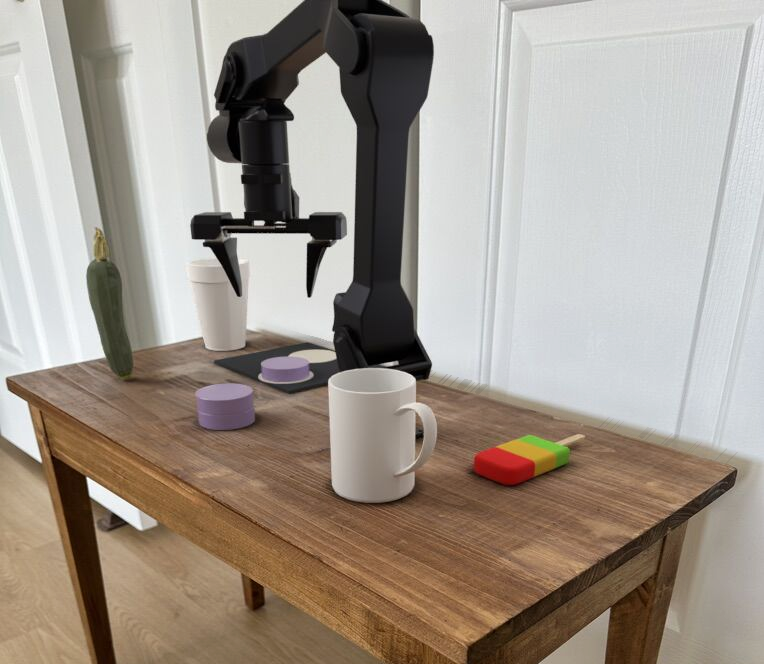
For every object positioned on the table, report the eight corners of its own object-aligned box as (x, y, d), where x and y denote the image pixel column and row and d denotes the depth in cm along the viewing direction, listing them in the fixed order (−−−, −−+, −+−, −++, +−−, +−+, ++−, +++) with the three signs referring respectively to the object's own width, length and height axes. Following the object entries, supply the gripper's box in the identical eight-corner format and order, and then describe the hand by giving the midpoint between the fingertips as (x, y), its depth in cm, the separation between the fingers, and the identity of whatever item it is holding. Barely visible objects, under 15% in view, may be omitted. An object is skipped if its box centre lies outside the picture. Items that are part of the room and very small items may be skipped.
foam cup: (236, 336, 128) (229, 255, 122) (266, 346, 122) (260, 262, 116) (185, 345, 123) (175, 261, 117) (213, 356, 116) (204, 268, 110)
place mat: (388, 370, 109) (388, 366, 109) (287, 394, 99) (287, 390, 99) (307, 344, 123) (307, 341, 122) (212, 363, 113) (211, 360, 112)
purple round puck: (319, 376, 105) (318, 363, 104) (278, 385, 101) (277, 372, 100) (292, 366, 109) (291, 353, 108) (252, 374, 105) (251, 362, 105)
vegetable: (130, 386, 102) (105, 229, 94) (99, 386, 103) (71, 229, 94) (140, 377, 106) (117, 225, 98) (110, 377, 107) (84, 225, 98)
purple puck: (264, 407, 89) (263, 392, 88) (214, 419, 85) (212, 404, 84) (235, 394, 93) (234, 380, 92) (186, 405, 89) (185, 390, 89)
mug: (315, 484, 73) (310, 378, 69) (380, 464, 78) (379, 363, 73) (395, 529, 65) (396, 412, 60) (462, 504, 69) (468, 393, 64)
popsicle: (467, 471, 76) (468, 454, 75) (561, 436, 84) (562, 420, 84) (510, 489, 72) (511, 471, 71) (603, 450, 81) (605, 434, 80)
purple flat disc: (266, 421, 89) (264, 407, 89) (216, 434, 86) (214, 419, 85) (237, 408, 94) (235, 394, 93) (188, 419, 90) (186, 405, 89)
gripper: (351, 162, 98) (354, 286, 105) (210, 163, 99) (222, 285, 106) (338, 164, 88) (342, 302, 95) (181, 165, 89) (197, 300, 96)
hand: (274, 296), depth 98 cm, fingers open, 9 cm apart
